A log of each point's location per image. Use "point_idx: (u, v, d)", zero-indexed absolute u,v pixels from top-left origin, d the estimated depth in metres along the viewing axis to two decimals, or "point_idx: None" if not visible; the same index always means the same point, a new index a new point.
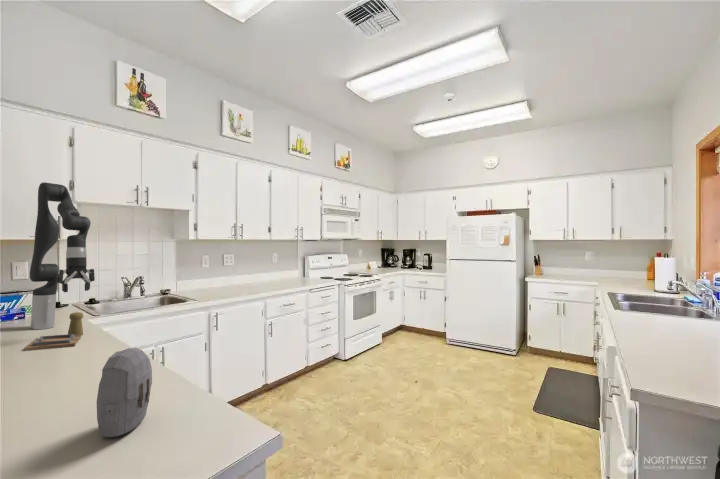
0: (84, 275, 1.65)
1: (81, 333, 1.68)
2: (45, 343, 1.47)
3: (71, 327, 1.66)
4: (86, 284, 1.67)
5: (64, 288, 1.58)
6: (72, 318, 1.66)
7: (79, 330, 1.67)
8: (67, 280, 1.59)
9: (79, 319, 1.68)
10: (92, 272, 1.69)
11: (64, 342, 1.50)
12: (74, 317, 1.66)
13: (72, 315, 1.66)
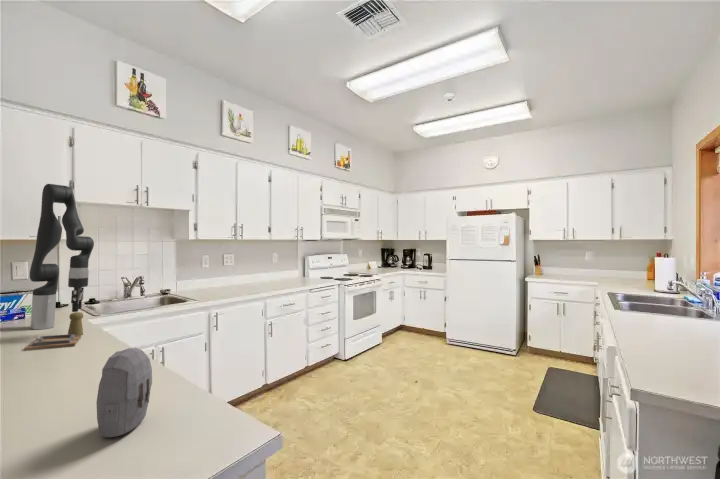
0: (82, 294, 1.71)
1: (81, 333, 1.68)
2: (45, 343, 1.47)
3: (71, 327, 1.66)
4: (79, 302, 1.72)
5: (76, 308, 1.64)
6: (72, 318, 1.66)
7: (79, 330, 1.67)
8: (78, 300, 1.65)
9: (79, 319, 1.68)
10: None
11: (64, 342, 1.50)
12: (74, 317, 1.66)
13: (72, 315, 1.66)
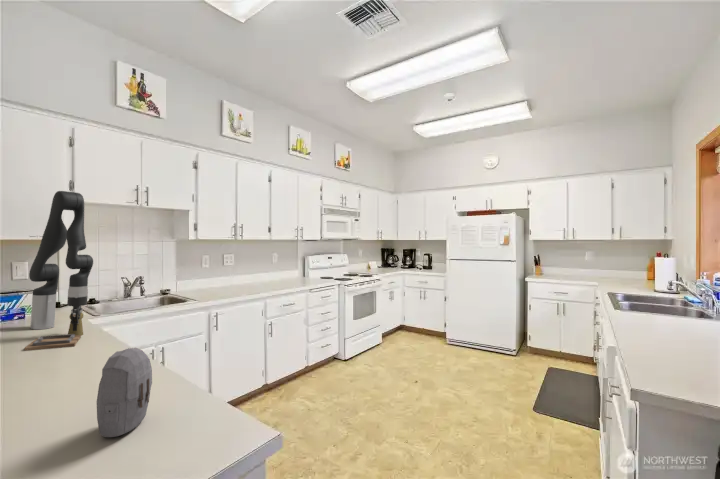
0: None
1: (81, 333, 1.68)
2: (45, 343, 1.47)
3: (71, 327, 1.66)
4: None
5: (76, 328, 1.66)
6: None
7: (79, 329, 1.68)
8: (78, 320, 1.67)
9: (79, 319, 1.68)
10: None
11: (64, 342, 1.50)
12: None
13: None
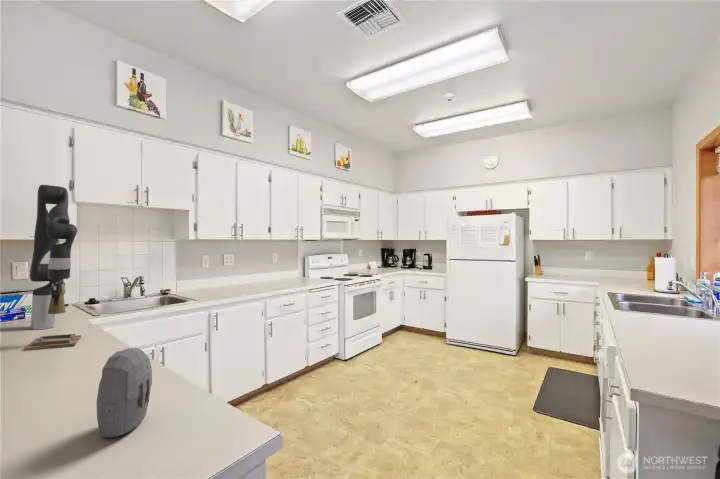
0: None
1: (64, 310, 1.55)
2: (45, 343, 1.47)
3: (53, 303, 1.52)
4: None
5: (57, 303, 1.52)
6: None
7: (62, 306, 1.54)
8: None
9: (62, 295, 1.54)
10: (64, 286, 1.59)
11: (64, 342, 1.50)
12: None
13: None
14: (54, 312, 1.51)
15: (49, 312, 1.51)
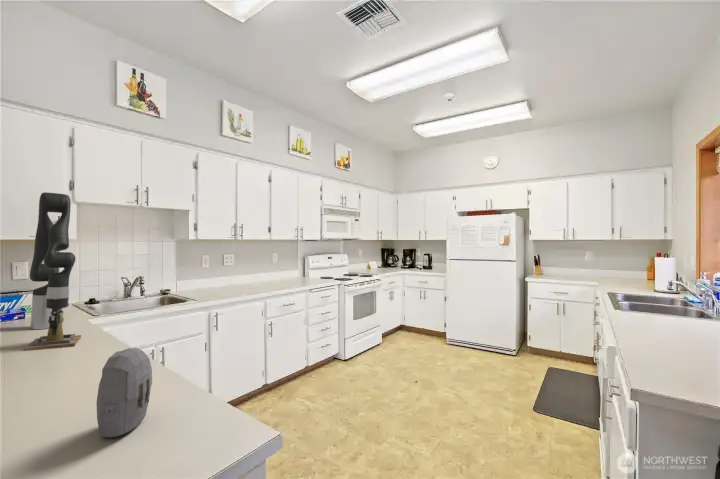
0: (62, 316, 1.56)
1: (62, 338, 1.54)
2: (45, 343, 1.47)
3: (51, 332, 1.51)
4: None
5: None
6: None
7: (60, 334, 1.53)
8: (58, 324, 1.53)
9: (60, 323, 1.54)
10: None
11: (64, 342, 1.50)
12: None
13: None
14: None
15: None
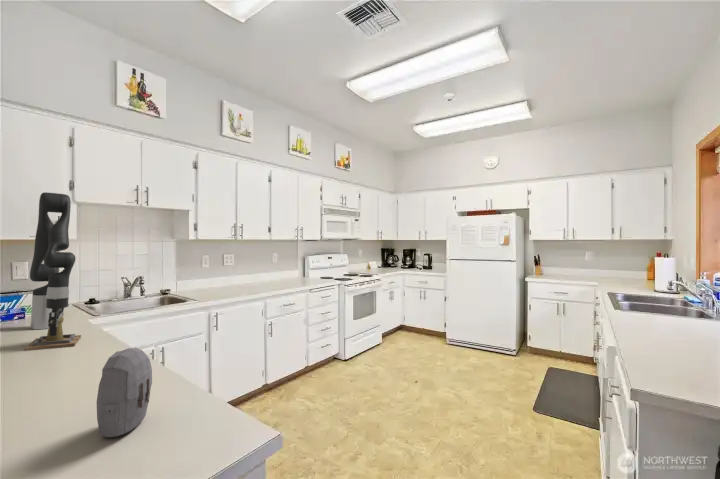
0: (62, 315, 1.57)
1: (62, 338, 1.54)
2: (45, 343, 1.47)
3: None
4: None
5: (54, 331, 1.50)
6: None
7: (60, 334, 1.53)
8: (57, 322, 1.51)
9: (60, 323, 1.54)
10: (63, 311, 1.60)
11: (64, 342, 1.50)
12: None
13: None
14: None
15: None
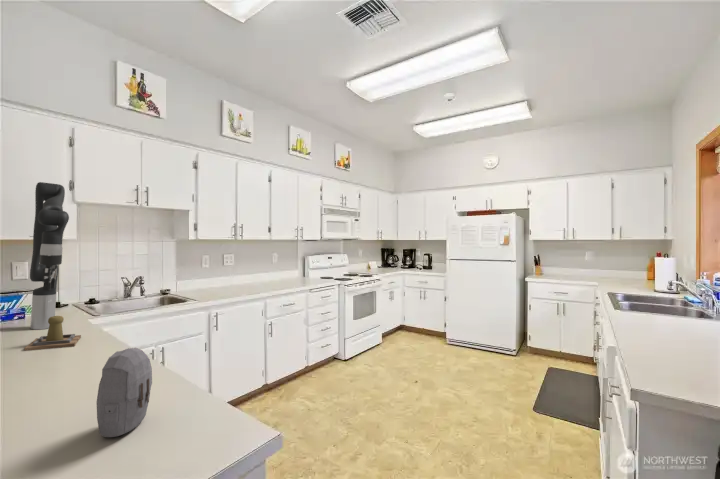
0: (56, 272, 1.60)
1: (62, 338, 1.54)
2: (45, 343, 1.47)
3: (51, 332, 1.51)
4: (52, 281, 1.60)
5: (48, 287, 1.53)
6: (52, 322, 1.51)
7: (60, 334, 1.53)
8: (51, 279, 1.54)
9: (60, 323, 1.54)
10: None
11: (64, 342, 1.50)
12: (55, 321, 1.52)
13: (52, 319, 1.51)
14: None
15: None
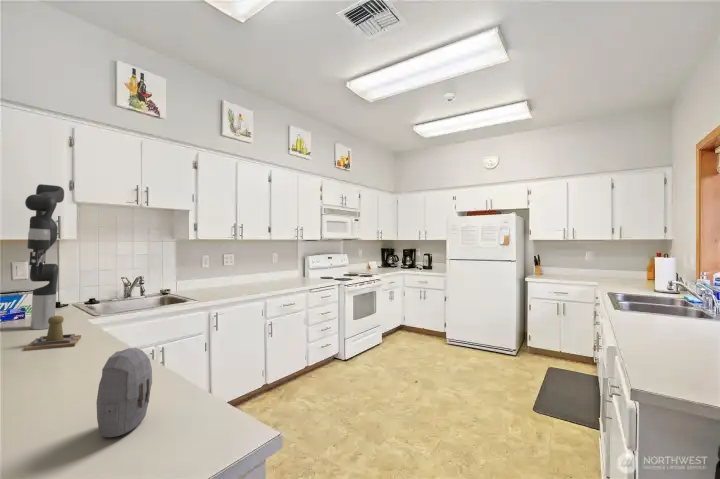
0: (44, 257, 1.63)
1: (62, 338, 1.54)
2: (45, 343, 1.47)
3: (51, 332, 1.51)
4: (40, 266, 1.63)
5: (35, 270, 1.56)
6: (52, 322, 1.51)
7: (60, 334, 1.53)
8: (38, 262, 1.57)
9: (60, 323, 1.54)
10: (45, 254, 1.66)
11: (64, 342, 1.50)
12: (55, 321, 1.52)
13: (52, 319, 1.51)
14: None
15: None
